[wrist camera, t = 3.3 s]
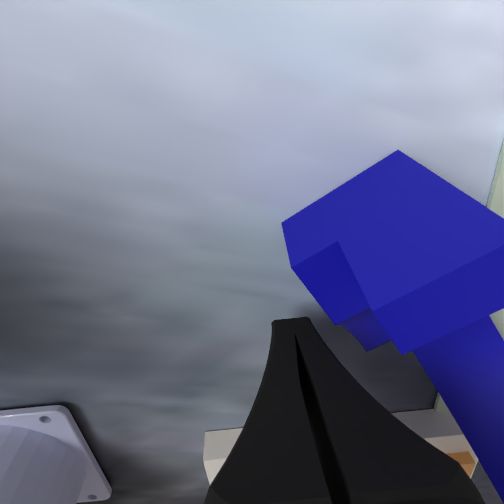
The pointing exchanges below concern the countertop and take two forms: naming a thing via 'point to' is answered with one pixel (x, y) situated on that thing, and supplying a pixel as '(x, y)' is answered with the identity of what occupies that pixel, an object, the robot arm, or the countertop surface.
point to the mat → (500, 202)
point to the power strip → (421, 421)
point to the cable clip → (415, 284)
